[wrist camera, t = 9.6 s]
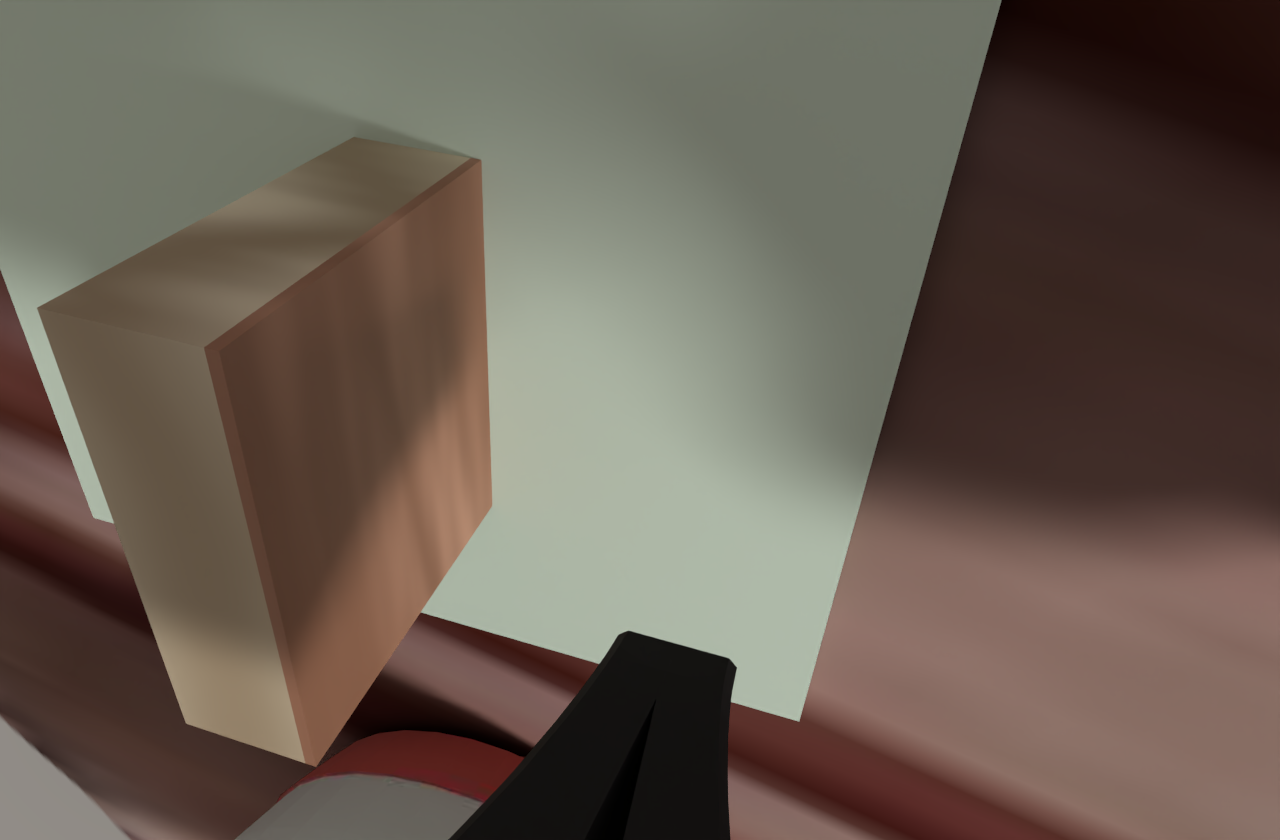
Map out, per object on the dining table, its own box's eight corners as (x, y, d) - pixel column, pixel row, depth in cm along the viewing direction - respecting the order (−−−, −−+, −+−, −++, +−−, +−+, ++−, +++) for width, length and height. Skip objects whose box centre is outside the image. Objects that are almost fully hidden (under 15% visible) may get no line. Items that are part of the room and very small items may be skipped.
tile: (481, 160, 16) (219, 351, 10) (492, 506, 20) (316, 766, 15) (353, 136, 16) (35, 307, 11) (393, 479, 21) (185, 723, 15)
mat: (1053, -193, 11) (1055, -194, 11) (801, 708, 22) (799, 721, 21) (-190, -300, 15) (-214, -302, 15) (104, 508, 26) (93, 517, 25)
